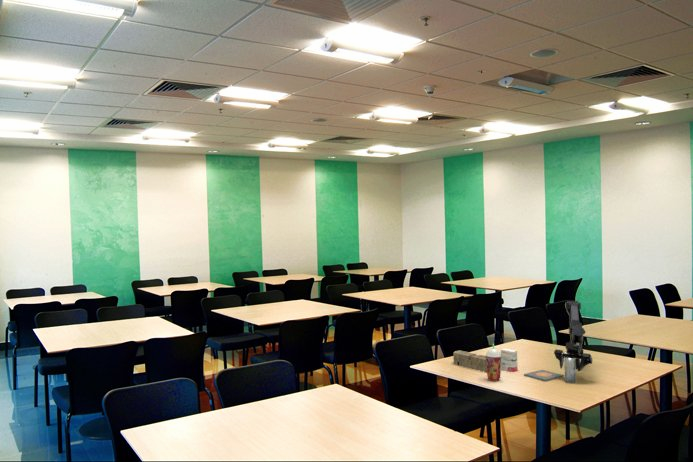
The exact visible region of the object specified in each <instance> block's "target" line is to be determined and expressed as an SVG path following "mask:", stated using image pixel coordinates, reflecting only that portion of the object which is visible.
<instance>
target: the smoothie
mask: <svg viewBox="0 0 693 462" xmlns="http://www.w3.org/2000/svg"><path fill="white" fill-rule="evenodd" d="M485 356H486V365H487V372H486V376H487V380H488V381H490V382H498V381H500V379H501V371H502V369H501V351H499V350H498V349H497V348H495V343H492V348H489V349H488V350H487V351H486V353H485Z"/></svg>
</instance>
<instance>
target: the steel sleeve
mask: <svg viewBox="0 0 693 462" xmlns="http://www.w3.org/2000/svg"><path fill="white" fill-rule="evenodd" d="M564 382H565V383H568V384H576V383H577V369H576V358H575V357H570V356H567V357H564Z"/></svg>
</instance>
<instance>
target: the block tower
mask: <svg viewBox="0 0 693 462" xmlns="http://www.w3.org/2000/svg"><path fill="white" fill-rule="evenodd" d="M452 354H453V365H454V364H455V366H459V367H462V366H463V367H462V368H466V367H467V369H470V368H471V370H474V369H475V371H478V370H480V372H483V371H484V372H483V373H487V365H486V355H485V354H478V355H477V353H473V352H469V351H464V350H455V351H454V352H453V353H452Z"/></svg>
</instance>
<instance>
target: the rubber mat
mask: <svg viewBox="0 0 693 462" xmlns="http://www.w3.org/2000/svg"><path fill="white" fill-rule="evenodd" d="M523 376H524V377H526V378H531V379H535V380H538V381H542V382H549V381H552V380H556V379H561V378H565V374H561V373H557V372H553V371H549V370H545V369H539V370H535V371H531V372H526V373H523Z"/></svg>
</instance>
